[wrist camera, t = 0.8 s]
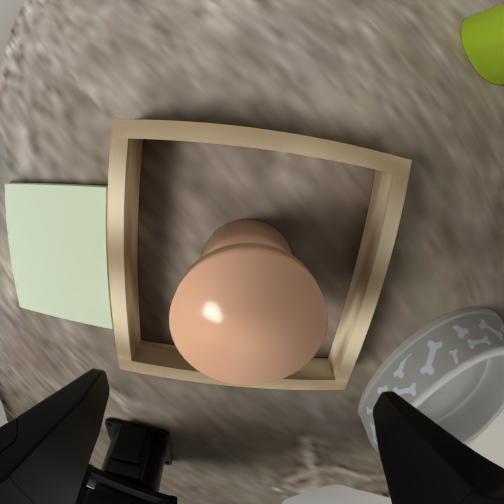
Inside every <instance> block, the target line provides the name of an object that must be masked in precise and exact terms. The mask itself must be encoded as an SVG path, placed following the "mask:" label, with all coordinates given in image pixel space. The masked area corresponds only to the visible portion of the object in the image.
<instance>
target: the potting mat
mask: <svg viewBox="0 0 504 504" xmlns="http://www.w3.org/2000/svg"><path fill="white" fill-rule="evenodd" d="M5 204H6V219H7V230H8V240H9V248H10V255H11V262H12V269H13V274H14V280H15V285H16V290H17V295H18V300H19V304H20V307H22V308H25V309H29V310H32V311H36V312H40V313H44V314H48V315H52V316H56V317H60V318H64V319H68V320H72V321H77V322H81V323H86V324H90V325H95V326H100V327H105V328H110V329H113V327H114V325H113V316H112V306H111V294H110V281H109V263H108V228H107V210H108V186H98V185H78V184H53V183H6V184H5Z"/></svg>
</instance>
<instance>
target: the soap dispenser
mask: <svg viewBox="0 0 504 504" xmlns="http://www.w3.org/2000/svg"><path fill="white" fill-rule="evenodd" d="M461 38H462V43H463V47H464V49H465V52H466V54H467V56H468V58H469V60H470V62H471V64H472V65H473V67H474V68H475V69H476V71H477V72H478V73H479V74H480V75H481V76H482V77H483V78H484V79H485V80H487V81H488V82H490V83H492V84H495V85H503V84H504V4H502V5H499V6H496V7H494V8H491V9H488V10H485V11H483V12H480V13H478V14H475V15H473V16H470V17H468V18H466V19H465V20H464V22H463V23H462V27H461Z"/></svg>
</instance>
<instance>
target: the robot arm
mask: <svg viewBox="0 0 504 504" xmlns="http://www.w3.org/2000/svg"><path fill="white" fill-rule="evenodd" d="M108 397H109V385H108V380H107V376H106V372H105V371H104V370H100V369H96V368H93V369H91V370H89V371H88V372H86V373H85V374H83V375H81V376H80V377H78V378H77V379H75V380H74V381H72V382H71V383H69V384H68V385H66V386H64V387H63V388H61V389H60V390H58V391H57V392H55V393H54V394H52V395H51V396H49V397H47V398H46V399H44V400H43V401H41V402H40V403H38V404H37V405H35V406H33V407H32V408H30V409H29V410H27V411H26V412H24V413H22V414H21V415H19V416H18V418H14V419H13V420H11V421H10V422H8V423H6V424H5V425H3V426H1V427H0V504H177V497H175V496H172V495H171V496H169V495H166V494H163V493H160V492H159V487H160V482H161V477H162V471H163V466H164V464H166V465H171V464H172V455H171V447H170V438H169V433H168V432H167V431H165V430H160V429H154V428H149V427H144V426H139V425H134V424H130V423H126V422H121V421H117V420H113V419H109V418H108V419H106V421H105V425H106V428H107V431H108V434H109V437H110V440H111V442H110V445H109V448H108V451H107V454H106V457H105V460H104V463H103V465H102V468H101V470H100V469H97V468H95V467H93V465H91V464H89V460H90V458H91V455H92V452H93V449H94V446H95V444H96V441H97V438H98V435H99V432H100V429H101V425H102V420H103V416H104V412H105V408H106V405H107V401H108ZM373 419H374V425H375V431H376V438H377V444H378V450H379V454H380V458H381V461H382V465H383V469H384V473H385V477H386V481H387V485H388V489H389V493H390V497H391V501H392V504H504V469H503V468H502V467H500V466H498V465H496V464H495V463H493V462H491V461H489V460H488V459H486V458H484V457H483V456H481V455H480V454H478V453H477V452H475V451H474V450H472V449H471V448H469V447H468V446H467V445H465V444H464V443H462V442H461V441H460V440H458V439H457V438H456V437H454V436H453V435H451V434H450V433H449V432H447V431H446V430H445V429H443V428H442V427H441V426H439V425H438V424H437V423H435V422H434V421H433V420H431V419H430V418H428V417H427V416H426V415H424V414H423V413H422V412H420V411H419V410H418V409H416V408H415V407H414V406H412V405H411V404H410V403H408V402H407V401H406V400H405V399H403V398H402V397H401V396H399V395H398V394H397V393H395V392H394V391H384V392H382V393H381V394H380V396H379V398H378V400H377V402H376V404H375V405H374V407H373ZM87 485H88V486H90V487H93V488H94V489H92V488H89V487H86V486H87Z"/></svg>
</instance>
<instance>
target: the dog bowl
mask: <svg viewBox="0 0 504 504" xmlns="http://www.w3.org/2000/svg"><path fill="white" fill-rule="evenodd" d="M384 391H394V392H395V393H397V394H398V395H399V396H401V397H402V398H403V399H405V400H406V401H407V402H408V403H410V404H411V405H412V406H414V407H415V408H416V409H418V410H419V411H420V412H422V413H423V414H424V415H426V416H427V417H428V418H430V419H431V420H433V421H434V422H435V423H437V424H438V425H439V426H441V427H442V428H443V429H445V430H446V431H447V432H449V433H450V434H451V435H453V436H454V437H456V438H457V439H458V440H460V441H461V442H462V443H464V444H465V445H466V444H467V443H469V442H470V441H471V440H473V439H474V438H475V437H477V436H478V435H479V434H480V433H481V432H483V431H484V430H485V429H486V428H487V427H488V426H489V425H490V424H491V423H492V422H493V421H494V420H495V419H496V418H497V416H498V415H499V414H500V413H501V412H502V410H503V409H504V322H503V321H502V319H501V318H500V316H499V315H498V314H497V313H496V312H494V311H493V310H491V309H488V308H484V307H467V308H462V309H458V310H455V311H452V312H450V313H447V314H445V315H443V316H441V317H439V318H437V319H435V320H434V321H432V322H430V323H428V324H427V325H425V326H424V327H422V328H421V329H419V330H418V331H417V332H415V333H414V334H413V335H411V336H410V337H409V338H408V339H406V340H405V341H404V342H403V343H402V344H401V345H400V346H399V347H397V348H396V349H395V350H394V351H393V352H392V353H391V354H390V355H389V357H388V358H387V359H386V360H385V361H384V362H383V363H382V365H381V366H380V367H379V368H378V370H377V371H376V372H375V374H374V375H373V377H372V378H371V380H370V381H369V383H368V384H367V386H366V388H365V390H364V392H363V394H362V396H361V399H360V402H359V406H358V411H357V412H358V414H359V416H360V418H361V421H362V423H363V425H364V428H365V431H366V433H367V436H368V439H369V441H370V443H371V445H372V446H373V448H374V449H375V450H376V451H377V452H378V454H379V450H378V444H377V438H376V431H375V425H374V419H373V407H374V405H375V404H376V402H377V400H378V398H379V396H380V394H381V393H382V392H384ZM379 455H380V454H379Z"/></svg>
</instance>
